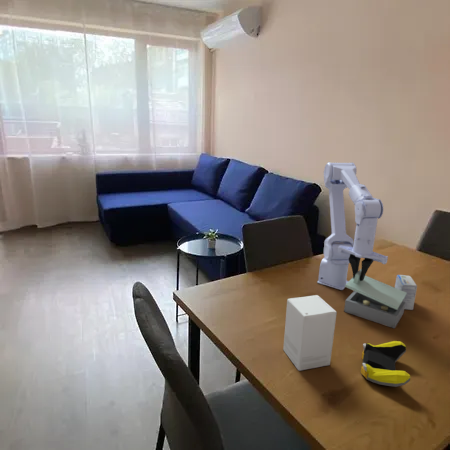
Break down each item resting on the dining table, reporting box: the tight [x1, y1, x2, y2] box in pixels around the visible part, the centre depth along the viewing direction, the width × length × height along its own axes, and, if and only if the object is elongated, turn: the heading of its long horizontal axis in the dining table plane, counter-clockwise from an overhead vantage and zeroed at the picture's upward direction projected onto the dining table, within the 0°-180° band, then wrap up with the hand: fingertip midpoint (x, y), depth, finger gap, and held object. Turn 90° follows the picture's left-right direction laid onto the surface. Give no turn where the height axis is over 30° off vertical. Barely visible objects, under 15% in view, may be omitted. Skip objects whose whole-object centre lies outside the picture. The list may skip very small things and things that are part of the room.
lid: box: [345, 268, 407, 310], centre depth 112 cm, size 16×12×5 cm
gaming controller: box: [360, 340, 411, 388], centre depth 88 cm, size 15×6×10 cm
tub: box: [343, 290, 405, 329], centre depth 114 cm, size 15×11×4 cm
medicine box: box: [394, 274, 418, 311], centre depth 120 cm, size 8×4×9 cm, turn 168°
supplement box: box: [283, 294, 337, 372], centre depth 91 cm, size 9×9×15 cm
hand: (358, 278), depth 116 cm, fingers closed on lid
